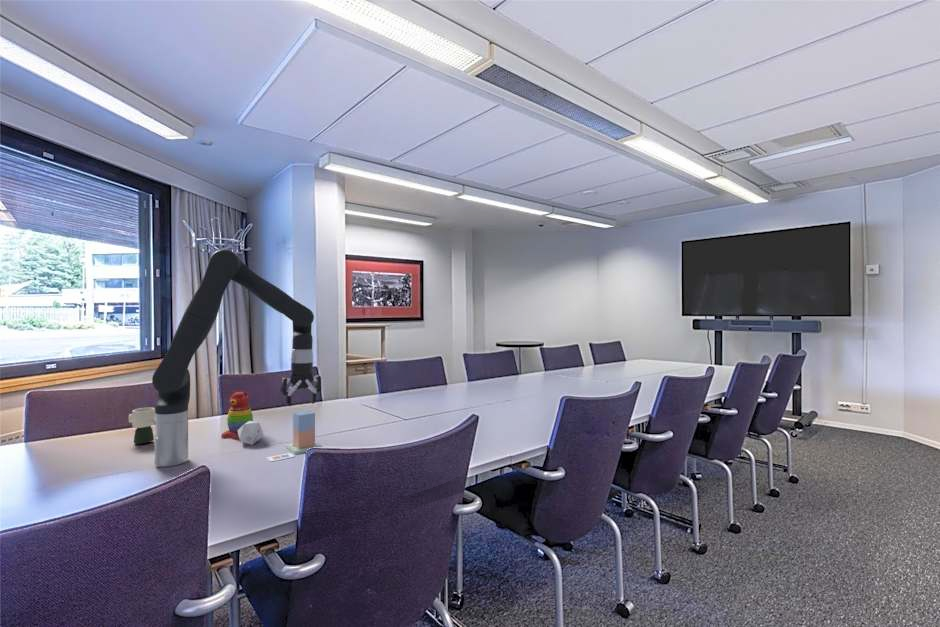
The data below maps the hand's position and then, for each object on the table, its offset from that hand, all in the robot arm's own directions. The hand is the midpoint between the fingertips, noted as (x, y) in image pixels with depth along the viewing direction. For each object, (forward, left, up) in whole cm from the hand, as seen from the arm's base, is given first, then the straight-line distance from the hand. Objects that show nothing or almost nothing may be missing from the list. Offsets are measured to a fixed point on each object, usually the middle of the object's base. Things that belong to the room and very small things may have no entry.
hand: (301, 404), depth 166 cm
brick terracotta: (+1, -1, -15) cm, 15 cm away
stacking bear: (-14, +32, -17) cm, 39 cm away
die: (-13, +18, -17) cm, 28 cm away
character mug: (-45, +43, -17) cm, 65 cm away
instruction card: (-9, -6, -16) cm, 20 cm away
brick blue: (+1, -1, -9) cm, 9 cm away
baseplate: (+1, -1, -16) cm, 16 cm away
